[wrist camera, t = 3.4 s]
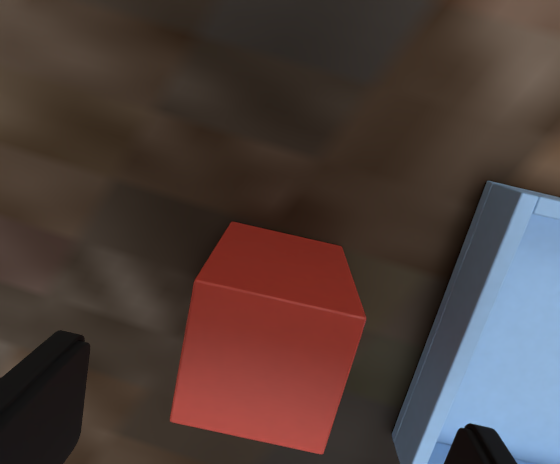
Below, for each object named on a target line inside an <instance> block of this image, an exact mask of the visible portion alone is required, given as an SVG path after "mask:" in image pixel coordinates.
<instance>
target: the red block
mask: <svg viewBox="0 0 560 464" xmlns="http://www.w3.org/2000/svg"><path fill="white" fill-rule="evenodd" d="M365 322H366V316H365V313H364V310H363V307H362V304H361V301H360V298H359V295H358V292H357V289H356V286H355V283H354V280H353V278H352V275H351V272H350V269H349V266H348V263H347V260H346V257H345V254H344V251H343V248H342V247H341V246H338V245H334V244H329V243H325V242H321V241H316V240H312V239H307V238H303V237H299V236H294V235H290V234H285V233H281V232H277V231H272V230H268V229H263V228H259V227H255V226H250V225H246V224H242V223H237V222H231V223H230V224H229V226H228V228H227V229H226V231H225V232H224V234H223V236H222V237H221V239H220V240H219V242H218V244H217V245H216V247H215V248H214V250H213V252H212V253H211V255H210V256H209V258H208V260H207V261H206V263H205V264H204V266H203V268H202V269H201V271H200V272H199V274H198V275H197V277H196V279H195V280H194V284H193V290H192V295H191V301H190V307H189V312H188V318H187V324H186V329H185V335H184V341H183V346H182V352H181V358H180V363H179V369H178V375H177V381H176V386H175V392H174V398H173V403H172V409H171V415H170V421H171V422H173V423H178V424H182V425H187V426H191V427H196V428H201V429H205V430H210V431H215V432H219V433H224V434H229V435H233V436H238V437H243V438H247V439H252V440H256V441H261V442H266V443H270V444H275V445H280V446H284V447H289V448H294V449H298V450H303V451H307V452H312V453H317V454H323V453H324V450H325V447H326V444H327V441H328V438H329V435H330V432H331V428H332V425H333V422H334V419H335V416H336V413H337V410H338V407H339V403H340V400H341V397H342V394H343V391H344V388H345V385H346V382H347V379H348V375H349V372H350V369H351V366H352V363H353V360H354V357H355V354H356V351H357V347H358V344H359V341H360V338H361V335H362V332H363V329H364V326H365Z"/></svg>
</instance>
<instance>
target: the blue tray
mask: <svg viewBox="0 0 560 464" xmlns="http://www.w3.org/2000/svg"><path fill="white" fill-rule="evenodd" d="M469 423H472V424H476V425H481V426H485V427H489V428H493V429H495V431H496V432H497V433H498V434H499V436H500V438H501V439H502V441H503V442H504V444H505V445H506V447H507V448H508V450H509V451H510V453H511V455H512V456H513V458H514V459H515V461H516V462H517V464H560V197H556V196H552V195H548V194H543V193H539V192H535V191H531V190H526V189H522V188H518V187H513V186H509V185H505V184H501V183H496V182H492V181H487V182H486V185H485V188H484V190H483V193H482V196H481V198H480V201H479V204H478V206H477V209H476V212H475V214H474V217H473V220H472V222H471V225H470V228H469V230H468V233H467V236H466V238H465V241H464V244H463V246H462V249H461V252H460V254H459V257H458V259H457V262H456V265H455V267H454V270H453V273H452V275H451V278H450V281H449V283H448V286H447V289H446V291H445V294H444V297H443V299H442V302H441V305H440V307H439V310H438V313H437V315H436V318H435V321H434V323H433V326H432V329H431V331H430V334H429V337H428V339H427V342H426V344H425V347H424V350H423V352H422V355H421V358H420V360H419V363H418V366H417V368H416V371H415V374H414V376H413V379H412V382H411V384H410V387H409V390H408V392H407V395H406V398H405V400H404V403H403V406H402V408H401V411H400V414H399V416H398V419H397V422H396V424H395V427H394V430H393V432H392V439H393V442H394V445H395V448H396V452H397V455H398V458H399V462H400V464H444V462H445V460H446V457H447V455H448V452H449V450H450V447H451V445H452V443H453V440H454V438H455V435H456V433H457V431H458V429H460V428H464V427H465V426H466V425H467V424H469Z"/></svg>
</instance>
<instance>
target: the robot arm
mask: <svg viewBox="0 0 560 464" xmlns="http://www.w3.org/2000/svg"><path fill="white" fill-rule="evenodd" d="M89 354H90V344H89V343H86V342H85V339H84V336H82V335H79V334H75V333H70V332H66V331H61V330H60V331H57V332H55V333H54V334H53V335H52V336H51V337H49V338H48V339H47V340H46V341H45V342H43V343H42V344H41V345H40V346H39V347H37V348H36V349H35V350H34V351H33V352H32V353H30V354H29V355H28V356H27V357H26V358H24V359H23V360H22V361H21V362H20V363H18V364H17V365H16V366H15V367H14V368H12V369H11V370H10V371H9V372H8V373H7V374H5V375H4V376H3V377H2V378H0V464H63V463H64V462H65V460H66V459H67V458H68V456H69V455H70V453H71V452H72V450H73V449H74V447H75V446H76V444H77V442H78V439H79V436H80V433H81V425H82V416H83V407H84V398H85V389H86V380H87V371H88V363H89ZM444 464H517V462H516V461H515V459H514V458H513V456H512V455H511V453H510V451H509V450H508V448H507V447H506V445H505V444H504V442H503V441H502V439H501V438H500V436H499V434H498V433H497V432H496V431H495V429H493V428H489V427H485V426H481V425H476V424H472V423H469V424H467V425H466V426H465V427H464V428H460V429H458V431H457V433H456V435H455V438H454V440H453V443H452V445H451V447H450V450H449V452H448V455H447V457H446V460H445V462H444Z"/></svg>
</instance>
